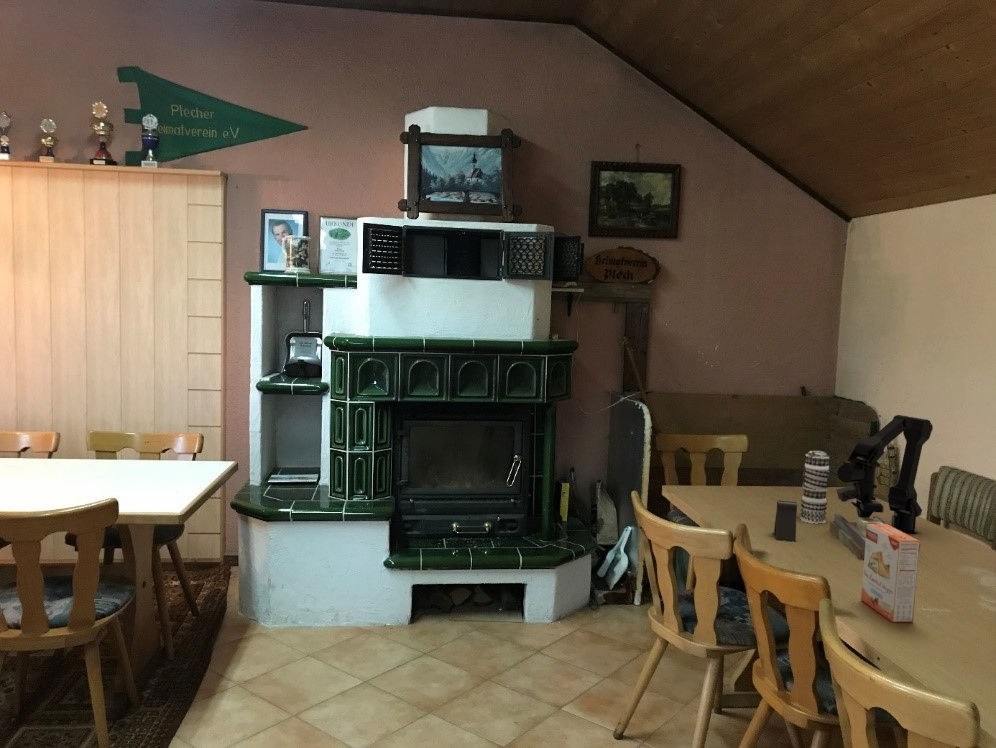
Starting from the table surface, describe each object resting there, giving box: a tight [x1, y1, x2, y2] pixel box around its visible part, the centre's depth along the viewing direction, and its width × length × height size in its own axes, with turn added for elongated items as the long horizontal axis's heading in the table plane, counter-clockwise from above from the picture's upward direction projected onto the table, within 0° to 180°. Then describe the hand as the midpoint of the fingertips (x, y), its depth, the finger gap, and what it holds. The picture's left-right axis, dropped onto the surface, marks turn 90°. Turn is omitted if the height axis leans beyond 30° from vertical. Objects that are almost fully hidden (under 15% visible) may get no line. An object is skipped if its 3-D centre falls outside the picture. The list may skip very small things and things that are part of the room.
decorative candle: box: [799, 450, 831, 525], centre depth 273 cm, size 9×9×25 cm
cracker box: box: [860, 523, 921, 623], centre depth 192 cm, size 14×6×21 cm, turn 5°
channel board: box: [829, 513, 890, 560], centre depth 247 cm, size 16×31×6 cm, turn 173°
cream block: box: [856, 516, 883, 537], centre depth 248 cm, size 6×6×5 cm
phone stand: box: [773, 499, 798, 543], centre depth 253 cm, size 9×6×12 cm, turn 164°
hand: (861, 525), depth 256 cm, fingers closed
